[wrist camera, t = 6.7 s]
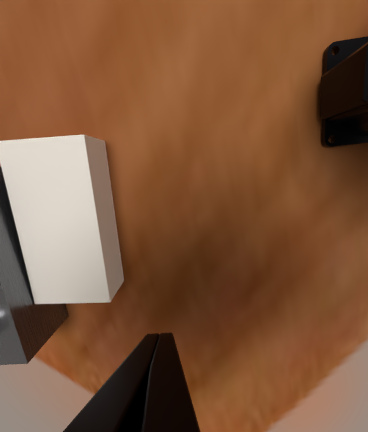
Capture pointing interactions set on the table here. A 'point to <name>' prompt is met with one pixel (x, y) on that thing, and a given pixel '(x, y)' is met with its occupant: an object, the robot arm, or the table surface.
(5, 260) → the stop bar
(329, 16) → the table surface
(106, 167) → the white rectangular block
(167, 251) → the table surface
